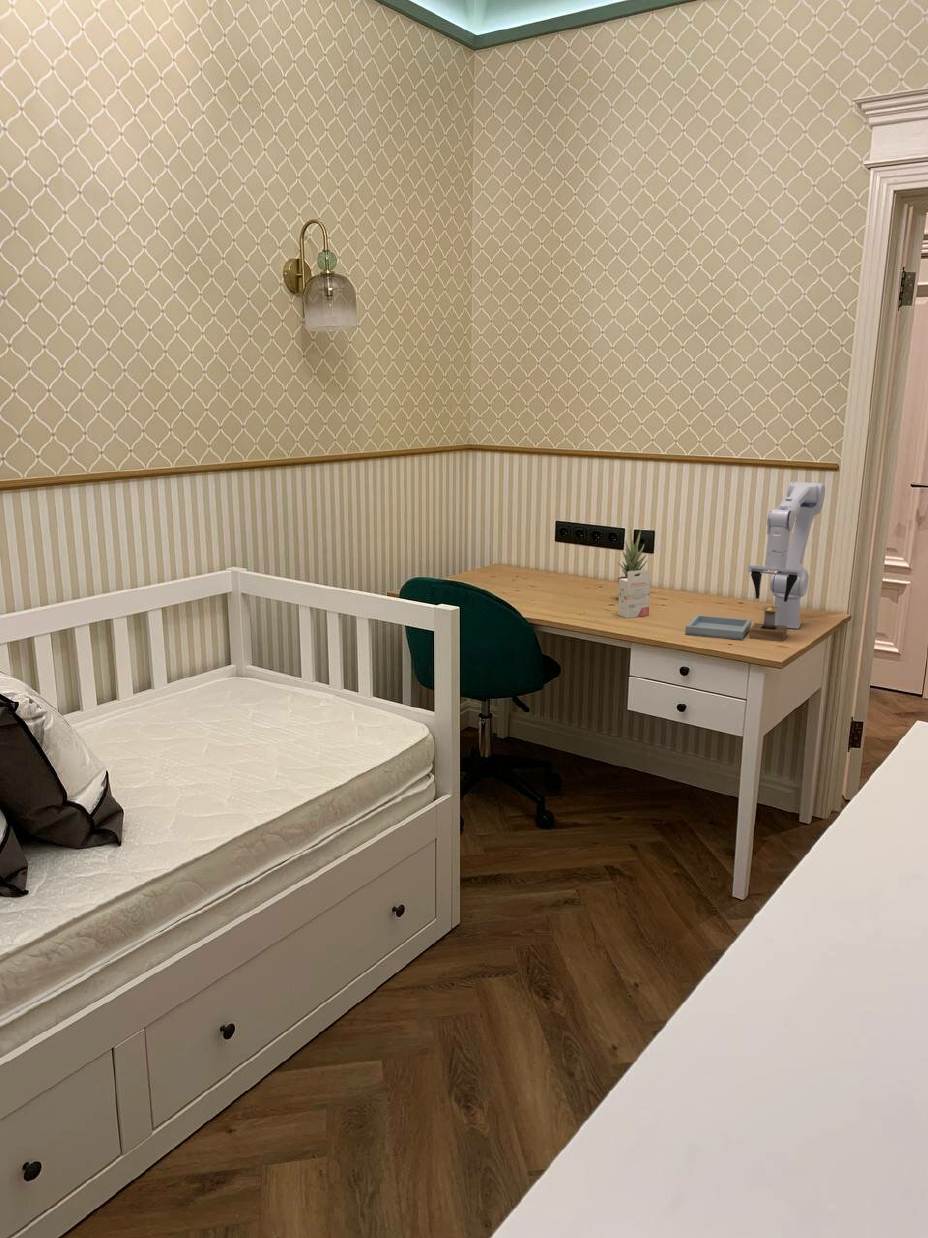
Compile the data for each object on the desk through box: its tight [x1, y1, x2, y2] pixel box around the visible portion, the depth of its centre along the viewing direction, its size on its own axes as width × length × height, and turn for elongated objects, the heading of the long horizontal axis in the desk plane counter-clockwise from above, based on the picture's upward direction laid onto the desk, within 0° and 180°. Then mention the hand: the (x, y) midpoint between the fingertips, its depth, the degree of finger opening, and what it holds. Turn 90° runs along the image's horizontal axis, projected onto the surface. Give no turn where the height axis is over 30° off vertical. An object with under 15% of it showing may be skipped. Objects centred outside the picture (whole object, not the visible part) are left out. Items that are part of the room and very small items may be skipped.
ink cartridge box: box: [617, 569, 651, 619], centre depth 302 cm, size 9×5×15 cm, turn 114°
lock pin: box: [761, 605, 778, 630], centre depth 277 cm, size 4×4×8 cm
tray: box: [685, 614, 752, 641], centre depth 283 cm, size 16×16×2 cm
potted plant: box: [616, 528, 648, 585], centre depth 324 cm, size 10×10×25 cm
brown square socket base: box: [749, 622, 788, 642], centre depth 277 cm, size 9×9×2 cm
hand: (771, 600), depth 275 cm, fingers open, 7 cm apart
